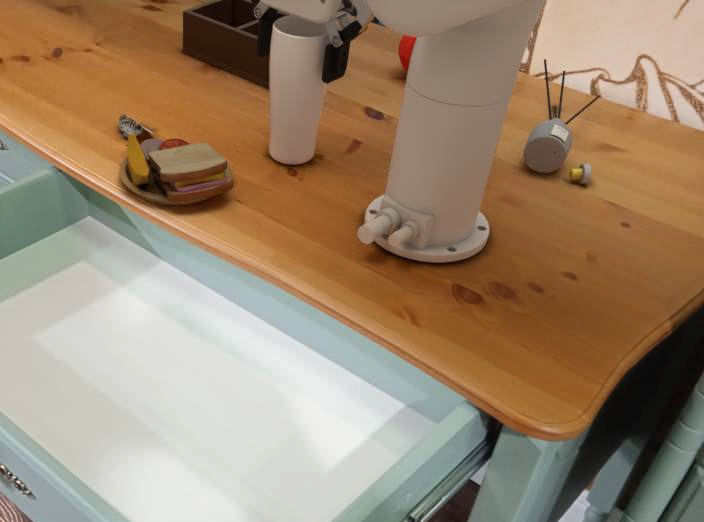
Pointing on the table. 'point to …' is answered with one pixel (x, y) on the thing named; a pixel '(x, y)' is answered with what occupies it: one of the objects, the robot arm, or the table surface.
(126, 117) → the silver ridged wedge
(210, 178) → the toy sandwich meal
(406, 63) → the apple
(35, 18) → the table surface
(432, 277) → the table surface
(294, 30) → the tall white cup
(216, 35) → the divided wooden box
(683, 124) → the table surface
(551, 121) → the reed diffuser
